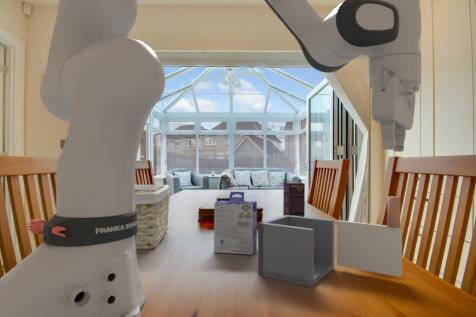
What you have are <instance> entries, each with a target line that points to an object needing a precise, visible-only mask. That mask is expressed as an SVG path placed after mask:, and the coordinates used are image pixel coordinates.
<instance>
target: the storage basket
mask: <svg viewBox="0 0 476 317" xmlns="http://www.w3.org/2000/svg"><path fill="white" fill-rule="evenodd" d="M170 194H171V186H170V185H168V184H135V210H136V211H137V217H138V232H137V236H136V240H135V243H136V250H149V249H156V248H157V246H159V244H160V243H161V241H162V239H163V238H164V236H165V234H166V233H167V232H168V229H169V227H168V226H169V225H168V224H169V211H170V209H169V207H170V206H169V205H170Z"/></svg>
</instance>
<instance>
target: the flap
mask: <svg viewBox="0 0 476 317" xmlns="http://www.w3.org/2000/svg"><path fill="white" fill-rule="evenodd" d="M386 198H387V199H386V201H387V202H386V204H387V206H386V207H387V208H386V211H387V212H386V216H387V217H386V222H387V224H385V225H384V224H376V223H367V222H358V221H349V220H348V221H347V220H336V223H337V225H336V226H337V227H336V228H337V229H336V231H337V232H336V234H337V235H336V237H337V238H336V239H337V240H336V248H337V249H336V252H337V254H336V255H337V256H336V257H337V258H336V265H337V266H338V267H339V266H340V267H346V268H351V269H355V270H360V271H365V272H372V273H377V274H382V275H386V276H387V275H388V276H393V277H398V278H402V277H403V275H402V274H403V262H402V261H403V255H402V254H403V252H402V251H403V245H402V244H403V242H402V241H403V237H402V236H403V227H402V226H401V196H387V197H386Z"/></svg>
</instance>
